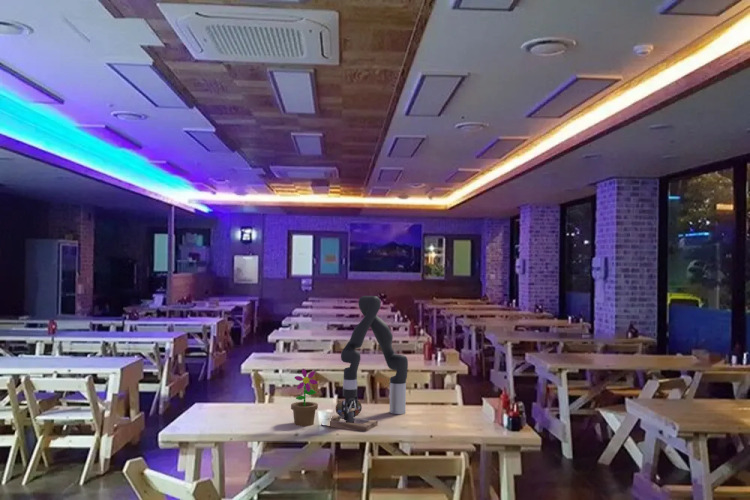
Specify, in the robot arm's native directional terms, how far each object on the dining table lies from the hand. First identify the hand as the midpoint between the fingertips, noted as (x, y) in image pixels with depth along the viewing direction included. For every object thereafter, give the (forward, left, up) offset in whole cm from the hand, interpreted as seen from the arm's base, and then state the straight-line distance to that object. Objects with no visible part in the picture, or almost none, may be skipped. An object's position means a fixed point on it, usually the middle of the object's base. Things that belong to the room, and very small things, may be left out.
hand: (349, 418), depth 347 cm
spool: (0, 0, -4) cm, 4 cm away
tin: (-20, -11, -4) cm, 23 cm away
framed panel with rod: (0, 0, -4) cm, 4 cm away
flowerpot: (+8, -23, -4) cm, 25 cm away
